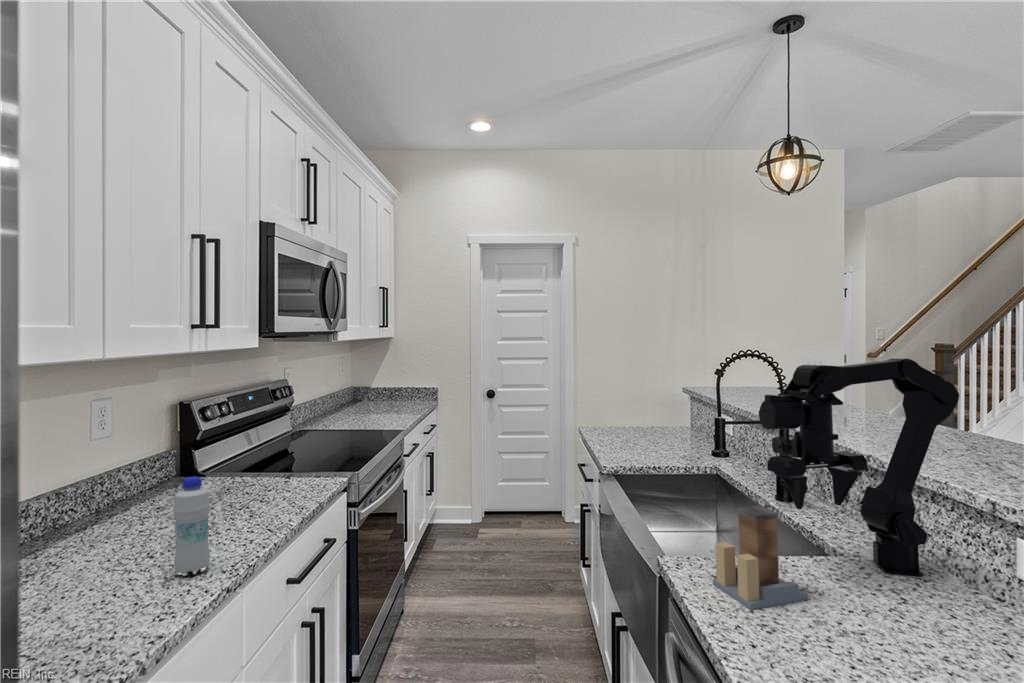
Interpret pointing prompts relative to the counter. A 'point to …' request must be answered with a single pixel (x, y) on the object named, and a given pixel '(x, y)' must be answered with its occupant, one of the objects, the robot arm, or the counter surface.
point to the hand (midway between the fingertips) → (818, 506)
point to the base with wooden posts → (750, 581)
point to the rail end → (760, 541)
